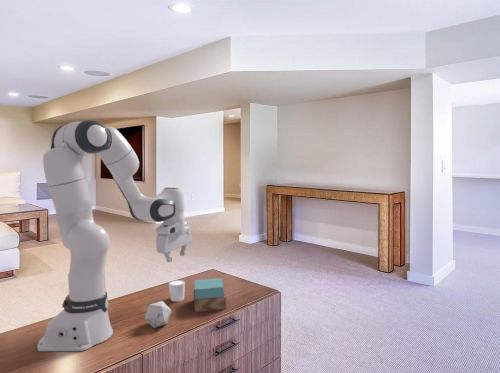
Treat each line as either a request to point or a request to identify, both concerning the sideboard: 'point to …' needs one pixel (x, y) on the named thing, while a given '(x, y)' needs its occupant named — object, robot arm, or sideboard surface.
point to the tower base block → (209, 303)
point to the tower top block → (209, 288)
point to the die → (158, 314)
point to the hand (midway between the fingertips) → (176, 258)
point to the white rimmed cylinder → (177, 290)
